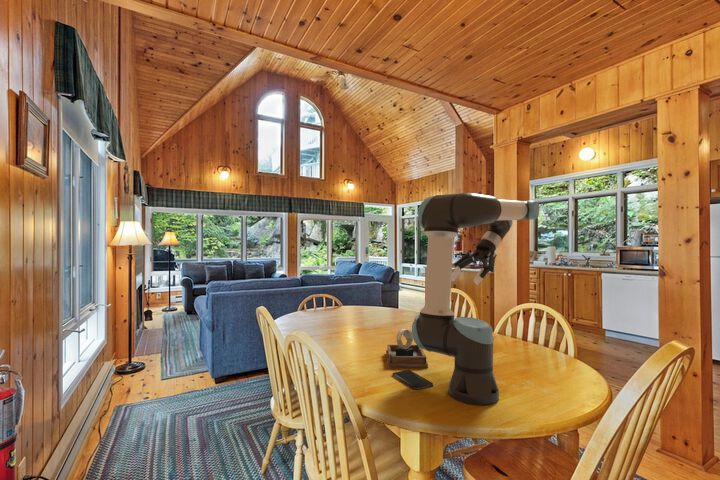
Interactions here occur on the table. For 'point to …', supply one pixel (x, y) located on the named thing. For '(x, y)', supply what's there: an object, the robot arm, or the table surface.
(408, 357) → the walnut tray
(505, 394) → the table surface
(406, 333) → the watch
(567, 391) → the table surface
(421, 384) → the phone
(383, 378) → the table surface
